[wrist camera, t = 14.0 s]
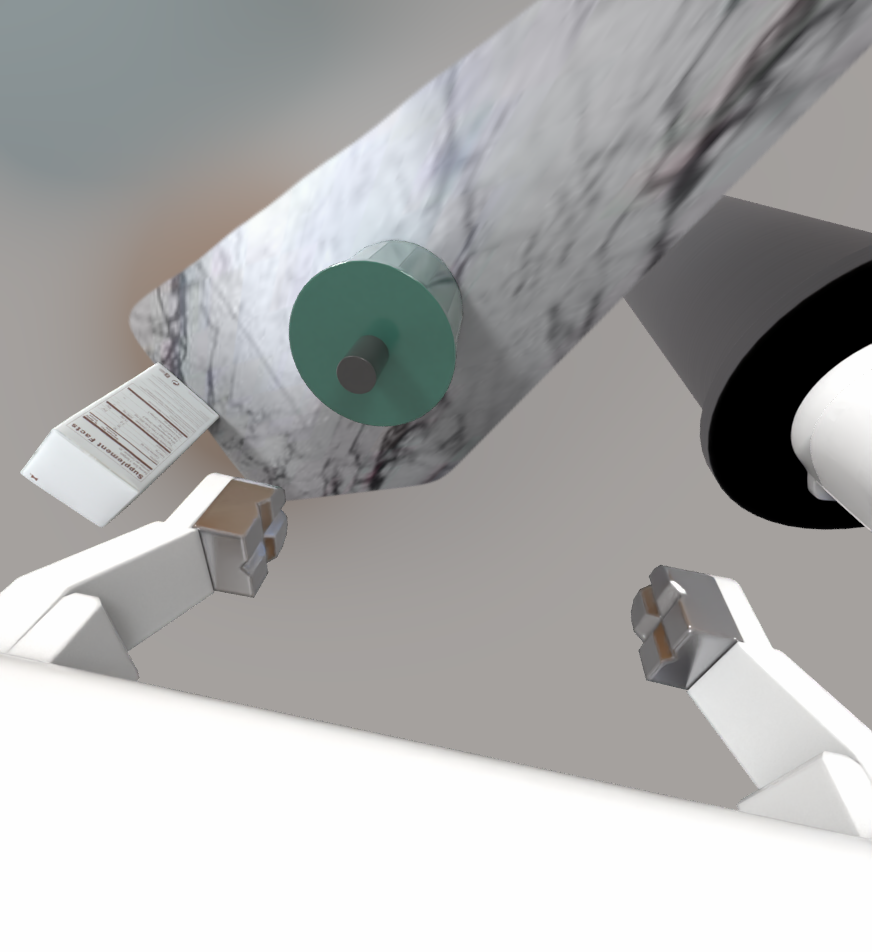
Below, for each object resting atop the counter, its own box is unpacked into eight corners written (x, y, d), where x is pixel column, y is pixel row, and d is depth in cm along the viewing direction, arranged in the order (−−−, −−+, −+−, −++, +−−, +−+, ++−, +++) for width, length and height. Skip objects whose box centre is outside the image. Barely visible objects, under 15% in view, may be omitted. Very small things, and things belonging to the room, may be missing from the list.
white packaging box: (186, 450, 48) (100, 531, 38) (124, 399, 45) (14, 472, 35) (223, 416, 45) (140, 495, 35) (159, 359, 42) (48, 427, 32)
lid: (472, 275, 26) (465, 297, 22) (443, 431, 33) (434, 468, 29) (291, 240, 26) (254, 256, 23) (299, 402, 33) (272, 435, 29)
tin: (473, 254, 33) (463, 283, 26) (451, 380, 39) (438, 430, 32) (338, 228, 33) (294, 250, 26) (337, 357, 39) (301, 402, 32)
